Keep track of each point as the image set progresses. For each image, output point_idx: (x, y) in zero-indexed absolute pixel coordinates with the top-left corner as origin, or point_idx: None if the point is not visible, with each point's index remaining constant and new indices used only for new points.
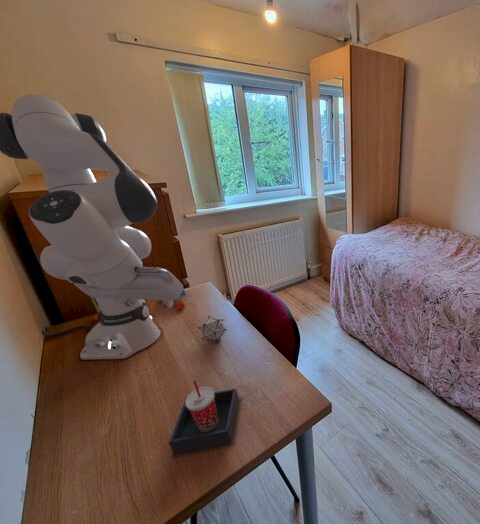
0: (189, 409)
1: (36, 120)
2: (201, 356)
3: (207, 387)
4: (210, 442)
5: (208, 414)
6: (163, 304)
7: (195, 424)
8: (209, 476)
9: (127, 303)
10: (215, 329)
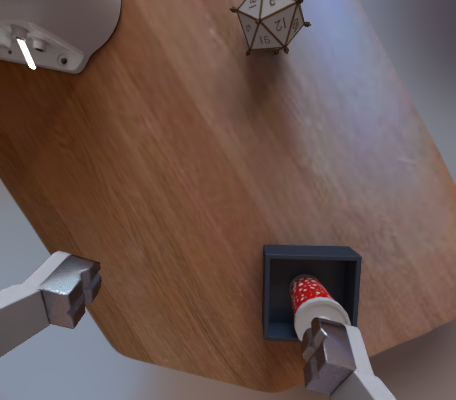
0: None
1: None
2: (249, 102)
3: (333, 303)
4: None
5: None
6: (319, 391)
7: (283, 285)
8: None
9: (71, 326)
10: (287, 35)
